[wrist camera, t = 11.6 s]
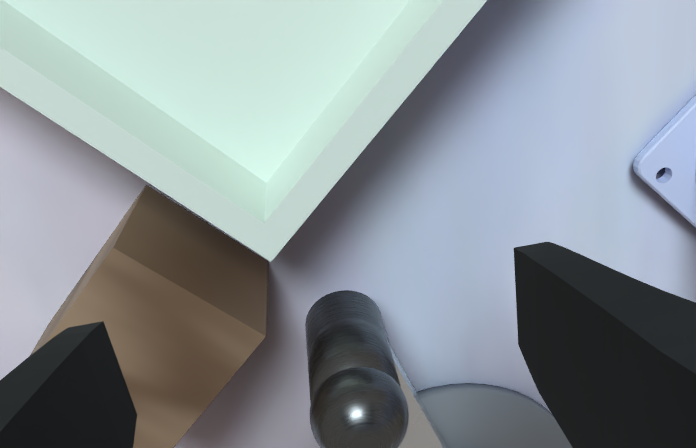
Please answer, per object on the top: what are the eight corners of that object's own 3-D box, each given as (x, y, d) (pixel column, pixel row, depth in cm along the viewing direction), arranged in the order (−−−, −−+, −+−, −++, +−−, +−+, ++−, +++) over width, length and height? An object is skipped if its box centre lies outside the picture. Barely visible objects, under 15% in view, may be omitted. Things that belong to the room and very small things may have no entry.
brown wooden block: (265, 336, 17) (145, 481, 19) (268, 259, 21) (168, 384, 23) (113, 247, 16) (-5, 413, 17) (146, 183, 20) (49, 322, 21)
